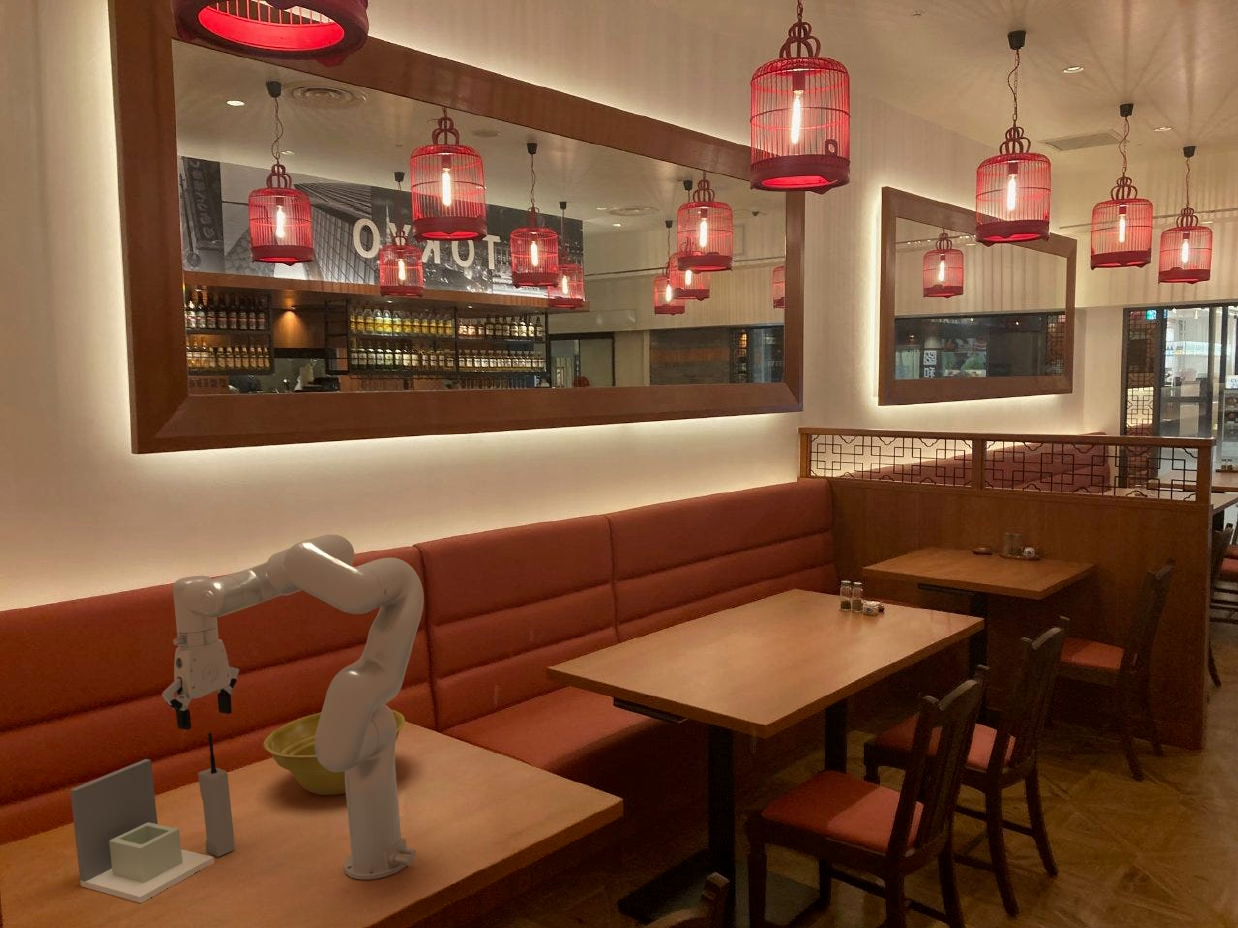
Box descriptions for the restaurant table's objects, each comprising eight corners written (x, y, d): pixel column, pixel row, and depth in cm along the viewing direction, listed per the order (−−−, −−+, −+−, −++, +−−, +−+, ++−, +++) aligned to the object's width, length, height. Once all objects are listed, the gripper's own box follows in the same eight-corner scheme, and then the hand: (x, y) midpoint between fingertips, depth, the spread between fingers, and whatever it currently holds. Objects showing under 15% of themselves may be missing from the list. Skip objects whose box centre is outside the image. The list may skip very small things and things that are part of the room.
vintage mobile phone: (223, 844, 194) (211, 727, 192) (235, 850, 191) (223, 731, 189) (205, 851, 191) (193, 733, 189) (217, 858, 188) (205, 737, 186)
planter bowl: (337, 823, 200) (331, 762, 199) (239, 800, 217) (233, 744, 216) (437, 767, 228) (432, 714, 227) (343, 751, 244) (338, 701, 243)
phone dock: (214, 862, 186) (204, 768, 185) (140, 903, 172) (130, 802, 171) (155, 848, 194) (145, 758, 193) (80, 885, 180) (70, 789, 179)
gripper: (172, 650, 179) (180, 737, 180) (246, 628, 194) (252, 708, 195) (147, 647, 182) (155, 732, 183) (221, 626, 198) (228, 705, 199)
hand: (205, 720), depth 189 cm, fingers open, 9 cm apart
